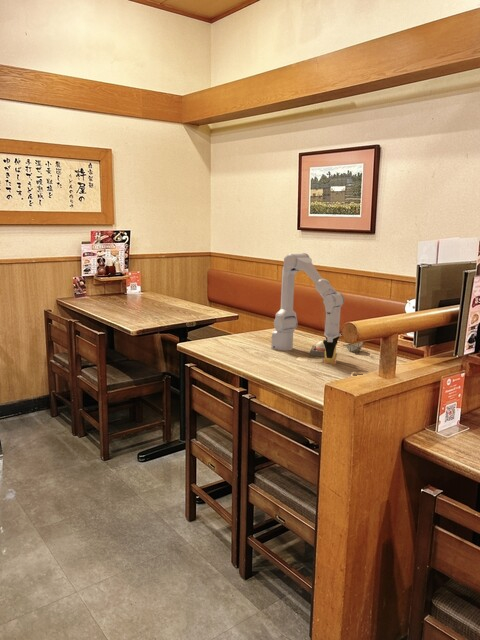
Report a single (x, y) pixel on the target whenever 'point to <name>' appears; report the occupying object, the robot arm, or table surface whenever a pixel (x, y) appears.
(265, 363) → the table surface
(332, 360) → the yellow upright block
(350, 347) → the grey rock
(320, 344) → the dome
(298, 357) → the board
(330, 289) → the robot arm
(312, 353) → the grey square tray
